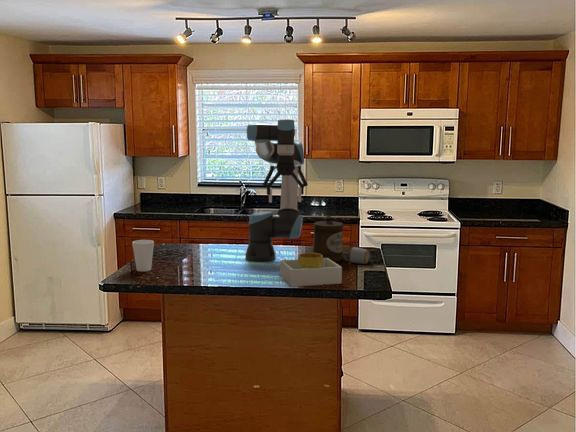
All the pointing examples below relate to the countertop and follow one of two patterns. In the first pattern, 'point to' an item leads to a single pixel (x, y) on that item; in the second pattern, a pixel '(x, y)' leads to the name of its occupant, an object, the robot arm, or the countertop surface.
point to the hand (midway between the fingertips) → (285, 202)
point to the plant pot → (310, 260)
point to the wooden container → (328, 239)
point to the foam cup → (143, 254)
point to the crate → (310, 273)
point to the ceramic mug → (359, 255)
